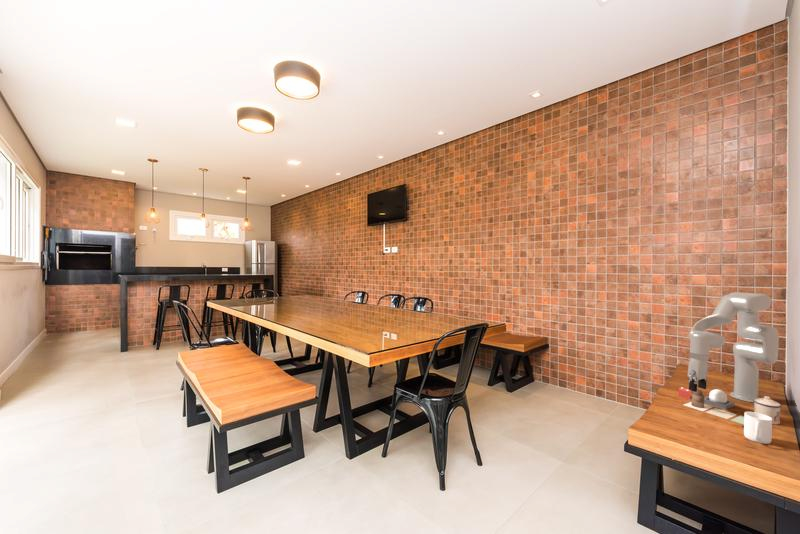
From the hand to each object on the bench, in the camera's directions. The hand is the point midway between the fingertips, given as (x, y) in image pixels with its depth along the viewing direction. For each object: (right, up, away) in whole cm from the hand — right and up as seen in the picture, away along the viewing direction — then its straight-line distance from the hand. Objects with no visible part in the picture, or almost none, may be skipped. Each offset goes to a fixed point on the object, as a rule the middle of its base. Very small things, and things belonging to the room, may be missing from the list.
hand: (697, 389), depth 179 cm
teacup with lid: (+23, -11, -12) cm, 28 cm away
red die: (+4, -10, +13) cm, 17 cm away
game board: (+5, -10, -8) cm, 14 cm away
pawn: (0, -9, 0) cm, 9 cm away
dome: (+14, -8, +3) cm, 16 cm away
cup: (-2, -11, -32) cm, 34 cm away
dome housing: (+14, -10, +3) cm, 17 cm away
